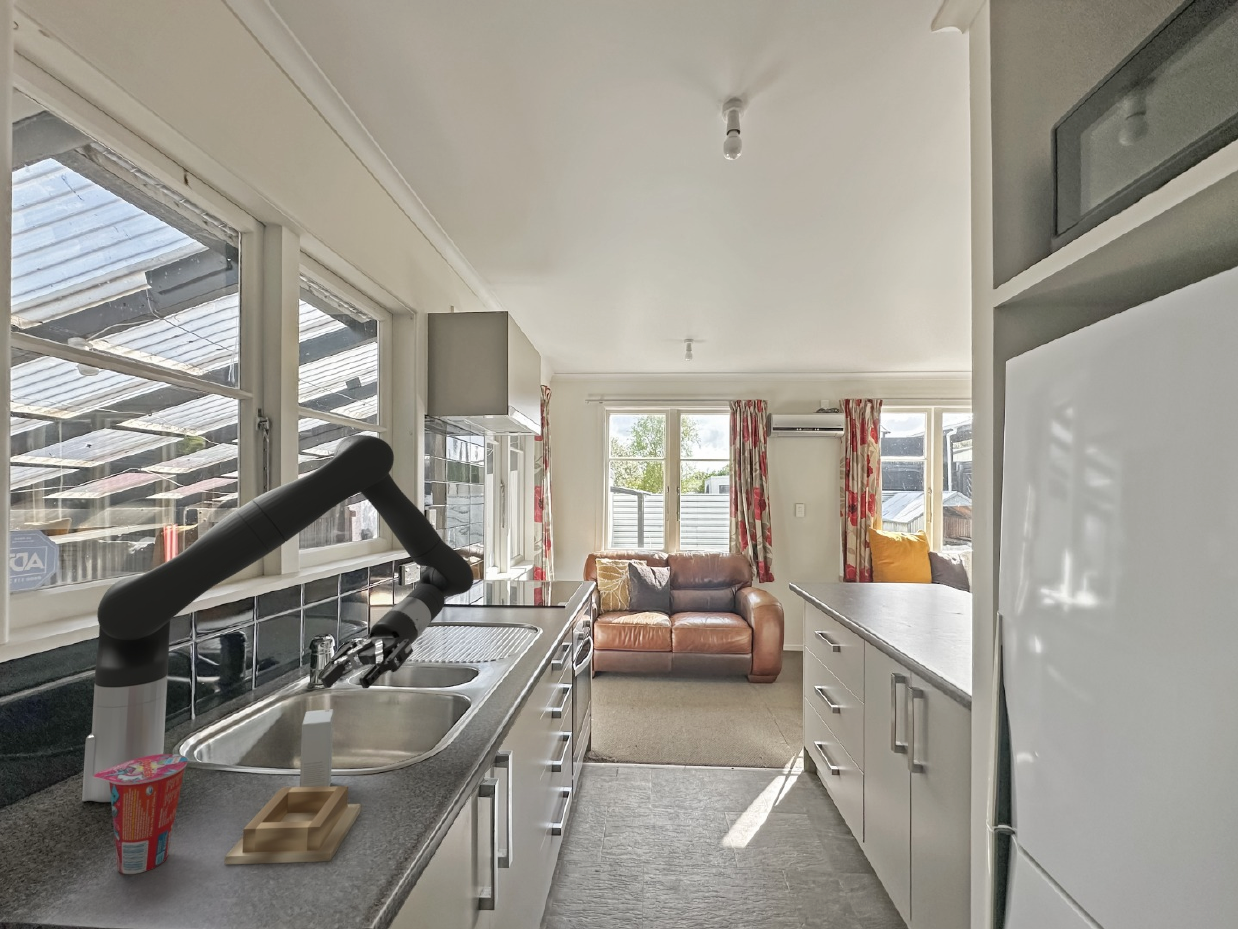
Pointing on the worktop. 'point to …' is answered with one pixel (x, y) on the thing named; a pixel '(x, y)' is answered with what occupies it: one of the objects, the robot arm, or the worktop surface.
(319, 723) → the skincare box
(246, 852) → the socket holder
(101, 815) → the worktop surface
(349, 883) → the worktop surface
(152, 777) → the cup
